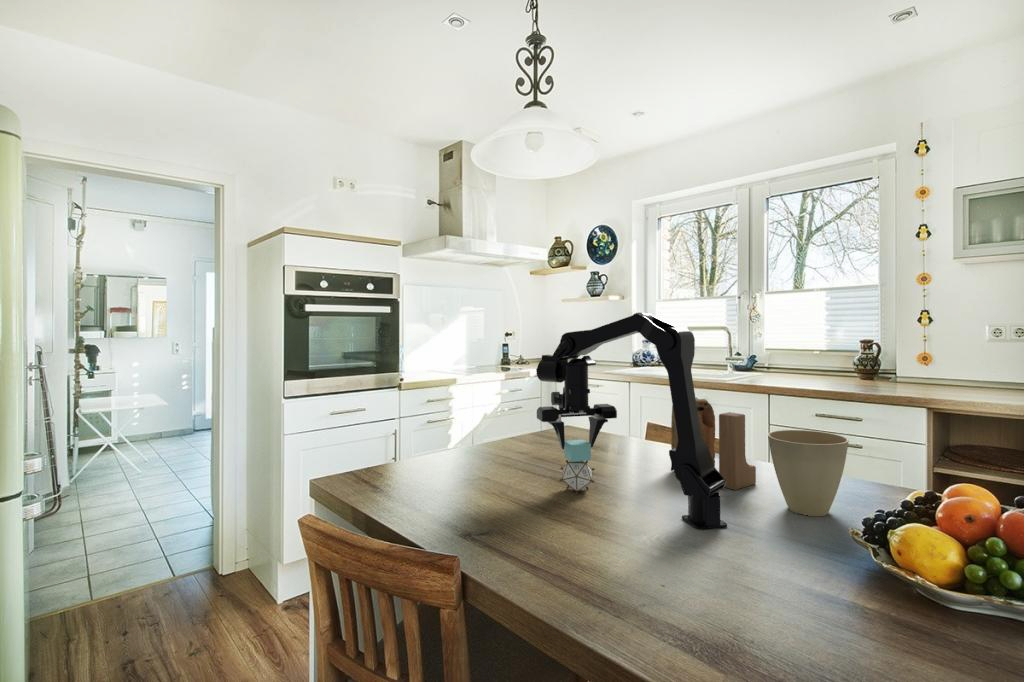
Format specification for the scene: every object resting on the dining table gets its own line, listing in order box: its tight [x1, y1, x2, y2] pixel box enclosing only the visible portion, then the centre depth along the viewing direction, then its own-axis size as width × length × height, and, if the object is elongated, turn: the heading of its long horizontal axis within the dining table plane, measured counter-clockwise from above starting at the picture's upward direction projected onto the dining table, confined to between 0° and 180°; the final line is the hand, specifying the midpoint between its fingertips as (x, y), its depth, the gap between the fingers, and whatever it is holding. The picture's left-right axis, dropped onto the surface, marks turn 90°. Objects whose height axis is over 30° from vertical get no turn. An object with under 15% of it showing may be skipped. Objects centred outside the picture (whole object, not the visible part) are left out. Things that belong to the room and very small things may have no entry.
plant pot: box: [767, 429, 849, 517], centre depth 109 cm, size 15×15×16 cm
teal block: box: [563, 439, 592, 462], centre depth 124 cm, size 5×5×4 cm
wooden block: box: [718, 411, 757, 491], centre depth 127 cm, size 9×4×18 cm, turn 123°
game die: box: [558, 459, 595, 495], centre depth 124 cm, size 9×8×10 cm
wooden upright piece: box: [670, 397, 716, 468], centre depth 139 cm, size 11×8×20 cm
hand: (576, 448), depth 124 cm, fingers open, 7 cm apart
